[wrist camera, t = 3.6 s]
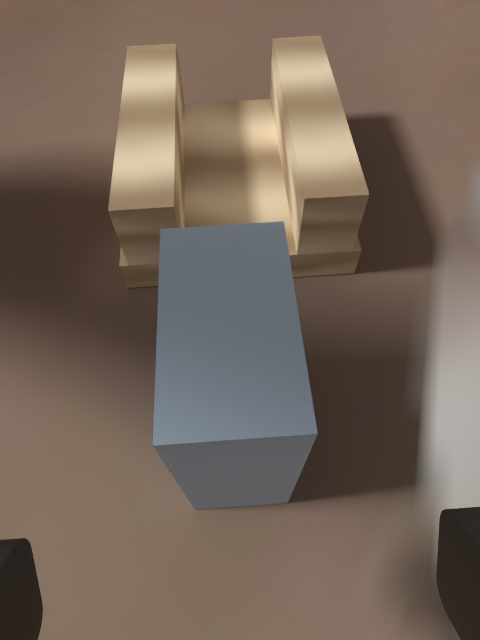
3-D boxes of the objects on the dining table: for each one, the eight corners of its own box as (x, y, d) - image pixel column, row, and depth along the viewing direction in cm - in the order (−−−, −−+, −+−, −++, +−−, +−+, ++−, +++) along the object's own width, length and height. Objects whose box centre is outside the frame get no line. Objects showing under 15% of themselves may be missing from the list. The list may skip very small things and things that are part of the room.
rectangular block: (287, 503, 19) (317, 434, 11) (195, 510, 19) (152, 445, 11) (271, 358, 23) (283, 221, 14) (193, 363, 23) (160, 228, 14)
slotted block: (354, 273, 26) (380, 194, 21) (127, 288, 25) (96, 211, 20) (316, 121, 33) (328, 35, 28) (139, 132, 33) (119, 47, 28)
